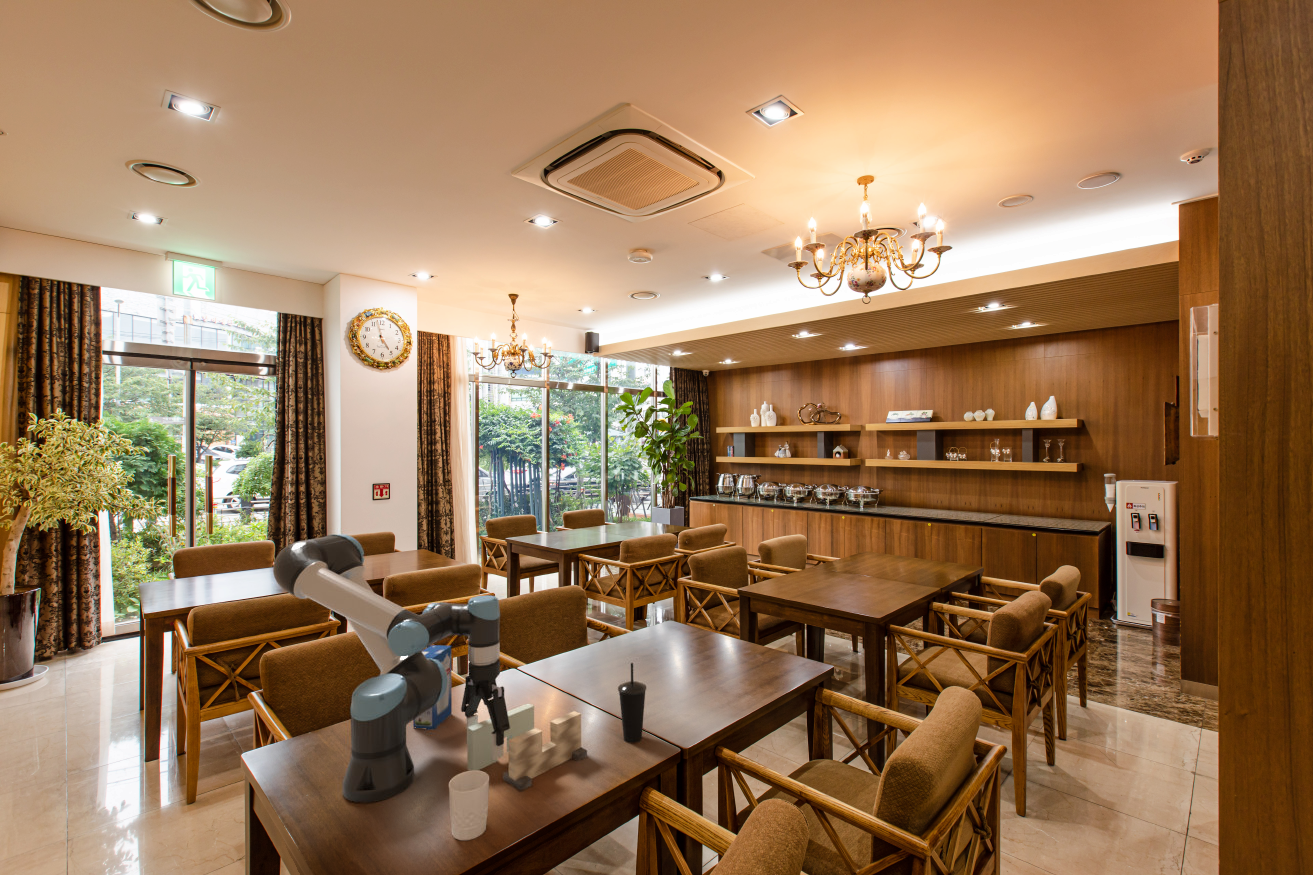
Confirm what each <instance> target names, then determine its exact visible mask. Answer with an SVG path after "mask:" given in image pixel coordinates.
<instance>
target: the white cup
mask: <svg viewBox="0 0 1313 875" xmlns="http://www.w3.org/2000/svg"><path fill="white" fill-rule="evenodd" d="M489 786H490V775H489V774H488V773H487V772H486V771H483V770H472V771H470V770H467V771H463V772H460V773H458V774H456V775H455V776H453V777H451V779H450V781H449V782H448V796H449V798H448V799H449V811H450V813H449V814H450V815H449V816H450V822H451V823H450V824H451V835H452V836H453V838H454V839H455V840H459V841H470V840H474V839H477V838H478V837H480V836H481V835H483V833H484V832H485V831H486V829H487V817H488V811H489V810H488V809H489V808H488V807H489V793H490V792H489V790H490V787H489Z"/></svg>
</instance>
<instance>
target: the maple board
mask: <svg viewBox="0 0 1313 875" xmlns="http://www.w3.org/2000/svg"><path fill="white" fill-rule="evenodd" d="M549 724H550V725H549V726H550V741H549V742H548V743H546V744H543V730H541V729H539V728H537V727H534V729H532V730H530V731H528V732H525V733H523V734H521V735H519V736H516V737H514V738H512V739H509V740H508V741H509V752H508V770H507V771H505V772H503V773H502V776H503V777H502V780H503V781H505V782H506V783H508V784H509V785H510V786H513V787H514V788H515V789H517V790H518V791H520V792H522V791H523V790H525V789H527V788H529V787H531V786H532V785H533V784H532V783H533V782H532V779H534V778H536V777H539V776H540V775H541V774H544V773H546V772H547V771H549V770H551V769H553V768H555V767H557V766H559V765H561V764H564V763H565V762H567V761H569V760H571V759H574V760H575V761H577V762H579V761H580V760H582V759H584V758H586V757H588V750H587V749H586V748H583V747H582V713H580V712H578V711H575V710H573V711H571V712H569V713H566V714H563V715H562V716H560V717H557V718H555V719H553V720H550V722H549Z"/></svg>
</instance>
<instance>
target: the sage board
mask: <svg viewBox="0 0 1313 875" xmlns="http://www.w3.org/2000/svg"><path fill="white" fill-rule="evenodd" d="M507 714H508V719H509V725H510V729H508V730H506V731H504V739H505V738H506V752H507V753H509V741H508V740H509V739H512V738H514V737H516V736H519V735H521V734H523V733H525V732H528V731H530V730H532V729H534V728H535V705H533V704H531V703H525V704H523V705H520V706H518V707H515V708H513V709H509V710H507ZM493 731H494V729H493V725H492V722H491V719H490V718H487V719H485V720H482V721H480V722H478V723H477V724H475V725H472V726H470V727H467V726H466V744H467V746H466V747H467V748H466V750H467V752H466V753H467V754H466V756H467V771H472V770H478V771H481V770H482V769H484V768H486V767H488V766H490V765H493V764H495V763H497V762H498V759H499V758H498V759H496V760H492V732H493Z"/></svg>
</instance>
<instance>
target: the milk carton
mask: <svg viewBox="0 0 1313 875" xmlns="http://www.w3.org/2000/svg"><path fill="white" fill-rule="evenodd" d="M422 653H423V654H424V656H425V657H426V658H432V659H436V660H438V661H439V662H440V663H441V664H442V665H443V666H444V668H445V670H446V673H447V677H448V683H447V689H446V692H445V694H444V696H443V697H442V699H441V700H440V701H439V702H437V703H436V704H435V706H433V707H432V708H431V709H429V710H427V711H425V712H424V713H422V714H421V715H420V716H418V717H417V718H415V719H414V720H412V721H413V722H412V723H413V724H412V725H413V726H412V727H416V728H426V729H425V730H430V729H434V730H435V729H436V728H438V727H439V726H440V725H441V724H442V723H443V722H444V721H445V720H447V719H448V718H449V717H450V716H451V715H452V712H453V711H452V709H453V708H452V703H453V702H452V695H453V694H452V692H453V691H452V645H439V644H438V645H436V644H432V645H430V646H428V647H426V648H424V649H423V650H422ZM448 716H449V717H448ZM447 717H448V718H447ZM446 718H447V719H446ZM440 723H441V724H440ZM439 724H440V725H439ZM438 725H439V726H438ZM437 726H438V727H437ZM416 728H415V729H416Z"/></svg>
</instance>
